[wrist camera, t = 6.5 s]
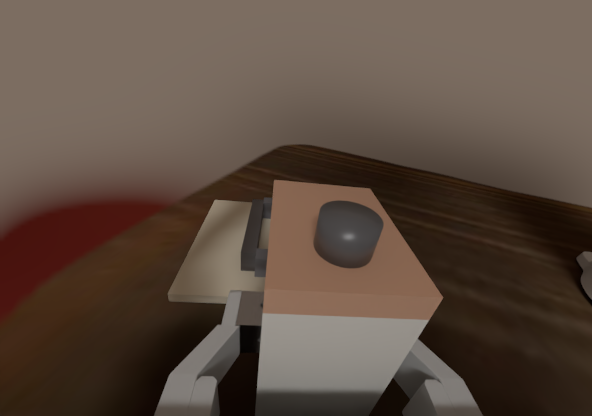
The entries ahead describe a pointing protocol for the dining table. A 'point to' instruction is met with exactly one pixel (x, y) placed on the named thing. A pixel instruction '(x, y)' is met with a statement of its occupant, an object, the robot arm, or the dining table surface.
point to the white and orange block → (336, 302)
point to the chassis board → (226, 253)
